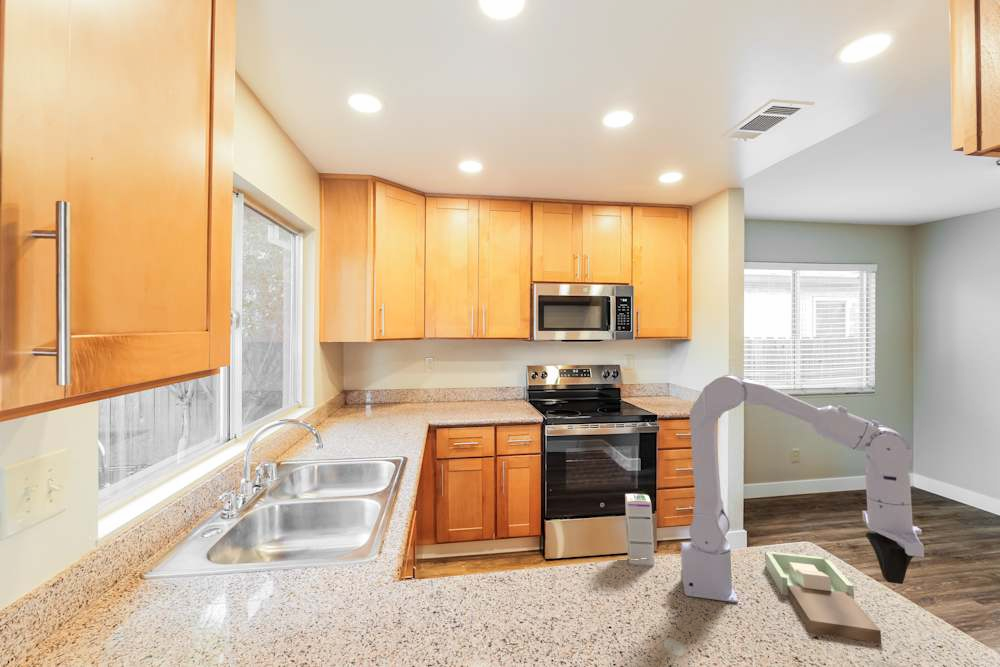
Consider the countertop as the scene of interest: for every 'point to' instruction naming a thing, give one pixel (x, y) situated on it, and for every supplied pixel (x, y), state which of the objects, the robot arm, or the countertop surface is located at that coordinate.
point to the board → (833, 614)
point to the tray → (780, 563)
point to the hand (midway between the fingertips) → (893, 581)
